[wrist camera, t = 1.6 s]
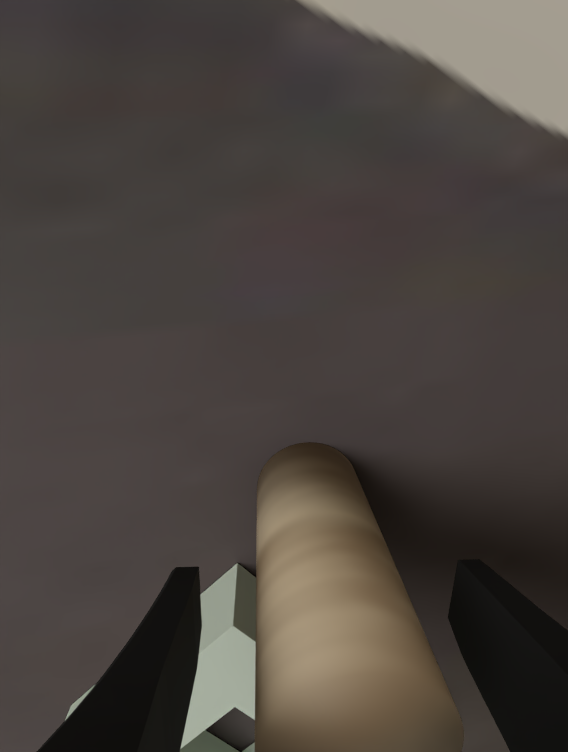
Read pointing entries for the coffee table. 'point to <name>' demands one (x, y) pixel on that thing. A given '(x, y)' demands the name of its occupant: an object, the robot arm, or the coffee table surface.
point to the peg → (337, 622)
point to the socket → (221, 660)
